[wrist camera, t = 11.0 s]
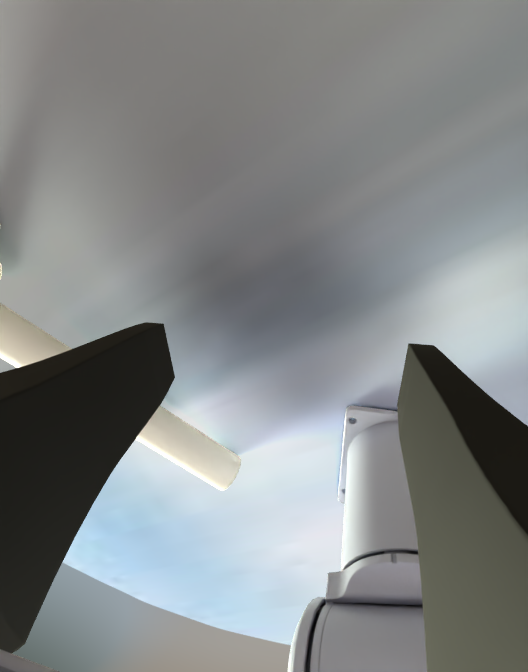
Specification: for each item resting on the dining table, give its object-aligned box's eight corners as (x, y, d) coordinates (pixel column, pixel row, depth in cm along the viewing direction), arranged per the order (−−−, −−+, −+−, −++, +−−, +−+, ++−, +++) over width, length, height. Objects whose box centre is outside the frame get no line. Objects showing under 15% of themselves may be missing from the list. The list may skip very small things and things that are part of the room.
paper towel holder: (-373, 123, 13) (255, 505, 21) (-128, 119, 21) (274, 405, 28) (-314, 282, 18) (181, 547, 26) (-132, 234, 25) (213, 452, 33)
